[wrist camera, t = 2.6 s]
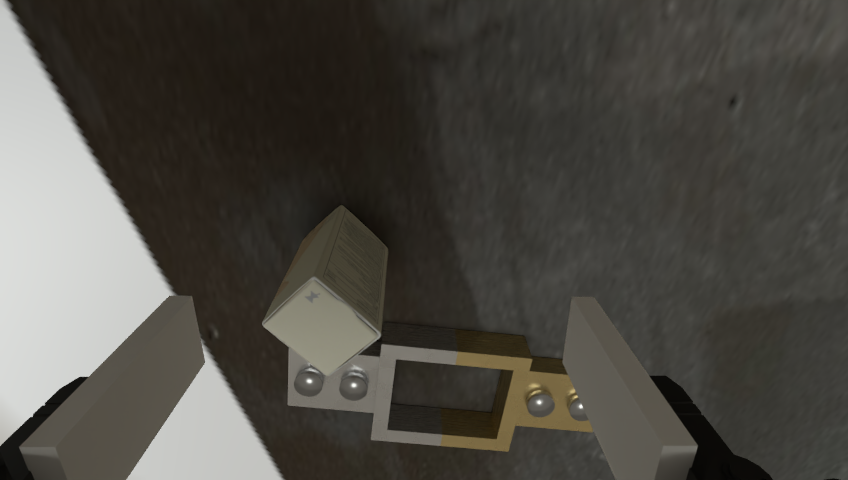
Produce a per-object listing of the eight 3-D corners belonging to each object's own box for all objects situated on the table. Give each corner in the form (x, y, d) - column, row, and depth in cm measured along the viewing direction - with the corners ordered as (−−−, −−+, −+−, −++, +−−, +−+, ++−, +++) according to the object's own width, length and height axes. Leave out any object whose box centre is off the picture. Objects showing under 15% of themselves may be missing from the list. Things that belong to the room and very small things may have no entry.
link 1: (293, 405, 41) (284, 432, 38) (295, 312, 37) (285, 334, 35) (438, 418, 42) (440, 445, 39) (454, 329, 38) (457, 351, 35)
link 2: (438, 418, 42) (440, 445, 39) (454, 329, 38) (457, 351, 35) (578, 431, 43) (590, 458, 40) (607, 344, 39) (622, 367, 36)
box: (301, 239, 35) (254, 321, 25) (342, 201, 34) (310, 271, 24) (352, 285, 36) (327, 381, 26) (393, 251, 35) (383, 337, 25)
